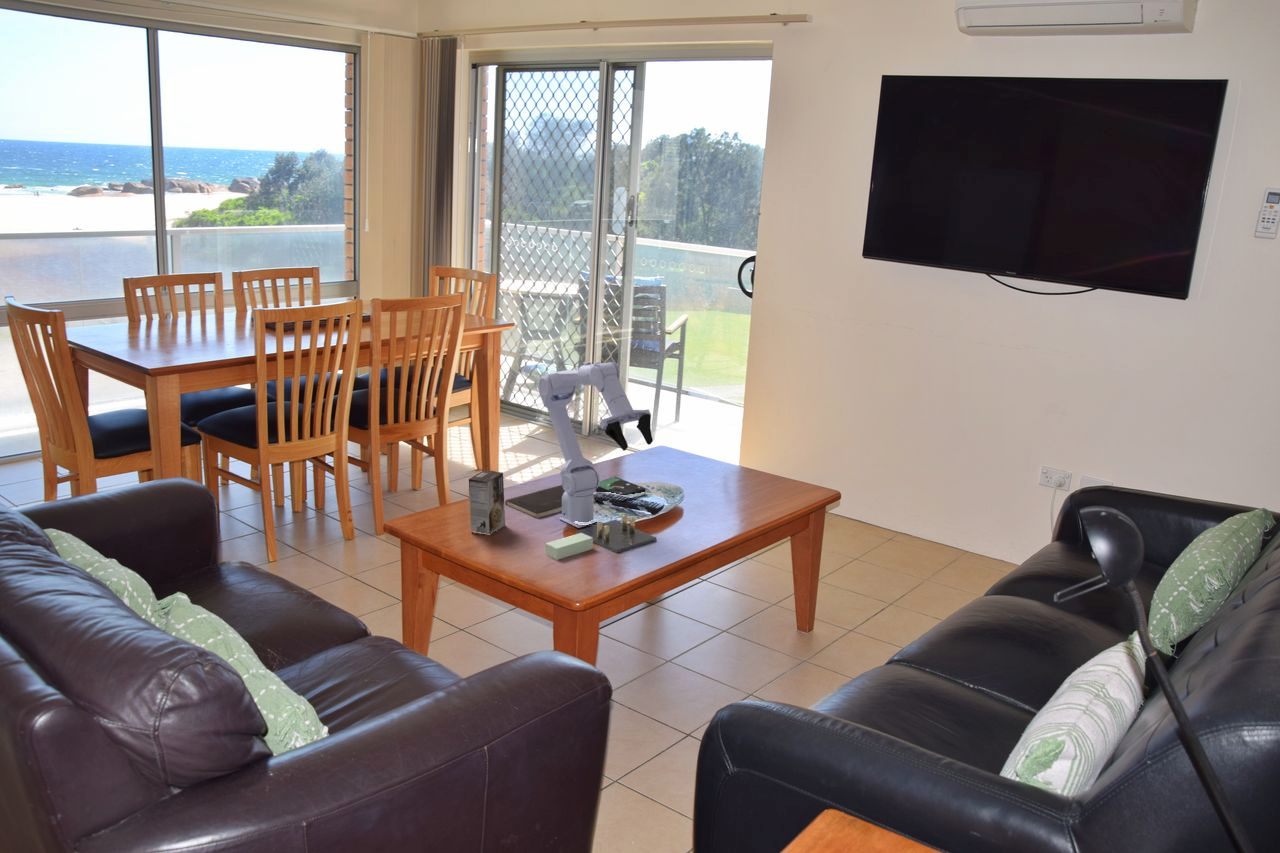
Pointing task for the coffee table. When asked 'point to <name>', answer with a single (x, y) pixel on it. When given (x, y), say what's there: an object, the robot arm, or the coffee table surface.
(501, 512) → the coffee box
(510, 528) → the coffee table surface
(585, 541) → the pale green block
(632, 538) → the plate
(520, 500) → the hardcover book
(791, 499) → the coffee table surface
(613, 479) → the disk drive
